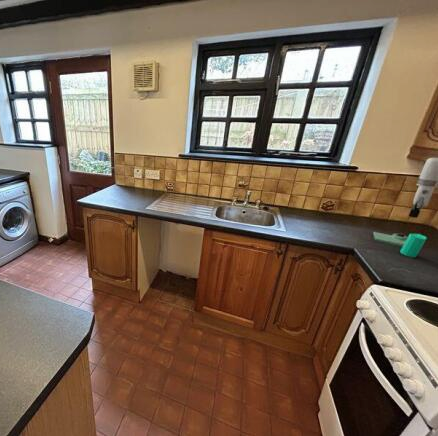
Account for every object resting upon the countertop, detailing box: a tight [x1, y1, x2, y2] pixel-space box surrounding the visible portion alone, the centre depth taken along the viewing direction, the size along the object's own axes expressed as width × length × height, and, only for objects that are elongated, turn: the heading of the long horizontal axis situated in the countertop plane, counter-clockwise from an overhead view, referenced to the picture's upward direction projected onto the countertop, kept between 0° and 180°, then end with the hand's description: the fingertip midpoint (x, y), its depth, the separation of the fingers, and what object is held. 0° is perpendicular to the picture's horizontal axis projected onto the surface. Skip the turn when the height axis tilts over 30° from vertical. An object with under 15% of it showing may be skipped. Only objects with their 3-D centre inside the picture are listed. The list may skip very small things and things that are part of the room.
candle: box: [399, 232, 428, 258], centre depth 121 cm, size 6×6×12 cm
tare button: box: [396, 232, 406, 237], centre depth 138 cm, size 3×3×2 cm
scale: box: [372, 231, 408, 248], centre depth 138 cm, size 14×12×3 cm
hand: (412, 216), depth 129 cm, fingers closed
